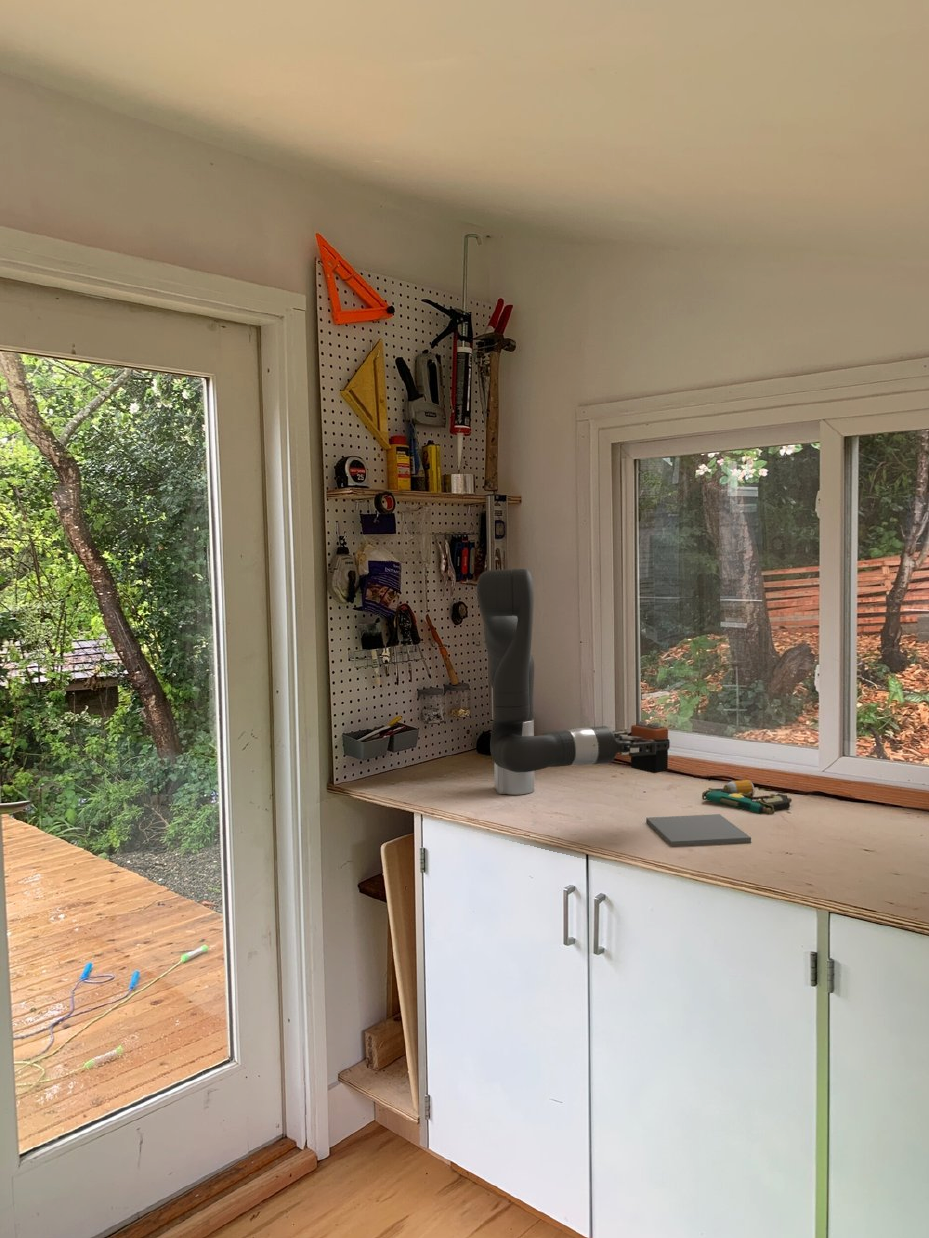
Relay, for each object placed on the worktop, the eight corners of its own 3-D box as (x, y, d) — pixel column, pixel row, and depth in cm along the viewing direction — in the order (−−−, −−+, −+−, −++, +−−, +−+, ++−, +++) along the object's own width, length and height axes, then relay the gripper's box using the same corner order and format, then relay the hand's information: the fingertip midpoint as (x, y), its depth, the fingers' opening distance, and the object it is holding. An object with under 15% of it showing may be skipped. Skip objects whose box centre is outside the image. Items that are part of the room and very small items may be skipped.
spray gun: (800, 812, 202) (752, 825, 195) (741, 791, 216) (695, 802, 209) (800, 793, 202) (753, 806, 194) (742, 773, 216) (696, 785, 208)
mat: (671, 846, 177) (671, 841, 177) (646, 822, 193) (646, 817, 193) (751, 842, 179) (751, 837, 179) (719, 818, 195) (719, 814, 195)
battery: (654, 774, 187) (655, 725, 186) (629, 768, 192) (630, 720, 191) (668, 771, 189) (669, 723, 189) (643, 765, 195) (644, 718, 194)
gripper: (605, 734, 178) (677, 728, 184) (571, 721, 192) (640, 716, 197) (605, 772, 179) (677, 765, 185) (571, 757, 192) (639, 750, 198)
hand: (657, 740), depth 191 cm, fingers closed on battery, 7 cm apart
